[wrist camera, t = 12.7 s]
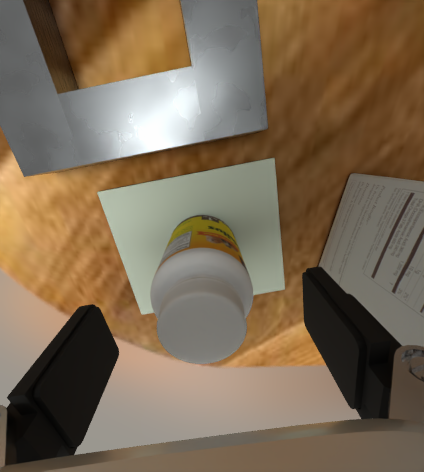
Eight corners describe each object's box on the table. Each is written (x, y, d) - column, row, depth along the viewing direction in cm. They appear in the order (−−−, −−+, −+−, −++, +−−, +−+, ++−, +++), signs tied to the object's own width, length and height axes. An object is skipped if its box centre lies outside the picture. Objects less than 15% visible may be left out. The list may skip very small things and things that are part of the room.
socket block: (222, -210, 11) (228, -332, 8) (257, 132, 17) (268, 128, 14) (-77, -137, 12) (-166, -229, 9) (53, 173, 17) (24, 176, 14)
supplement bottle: (247, 249, 20) (289, 341, 10) (196, 282, 21) (189, 394, 11) (210, 198, 18) (218, 249, 8) (156, 236, 19) (108, 322, 9)
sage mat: (272, 157, 17) (274, 157, 17) (283, 286, 22) (284, 289, 21) (100, 191, 18) (97, 192, 17) (143, 311, 22) (141, 314, 22)
